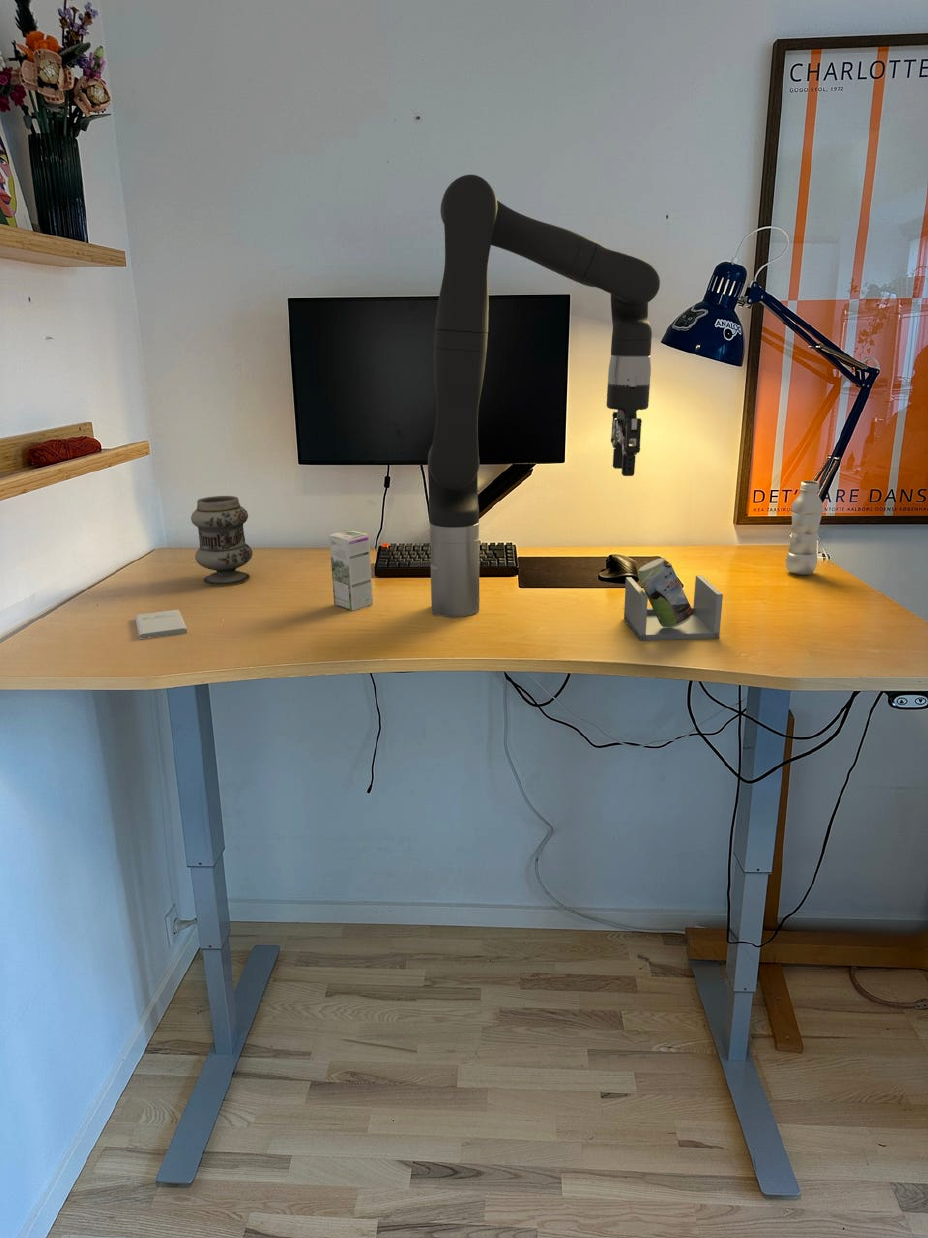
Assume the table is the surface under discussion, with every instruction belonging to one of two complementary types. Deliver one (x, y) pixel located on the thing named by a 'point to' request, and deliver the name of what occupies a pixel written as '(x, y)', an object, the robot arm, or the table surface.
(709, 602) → the holder
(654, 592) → the beverage can
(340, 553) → the syrup box
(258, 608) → the table surface
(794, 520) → the plastic bottle
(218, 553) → the apothecary jar
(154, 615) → the external hard drive
